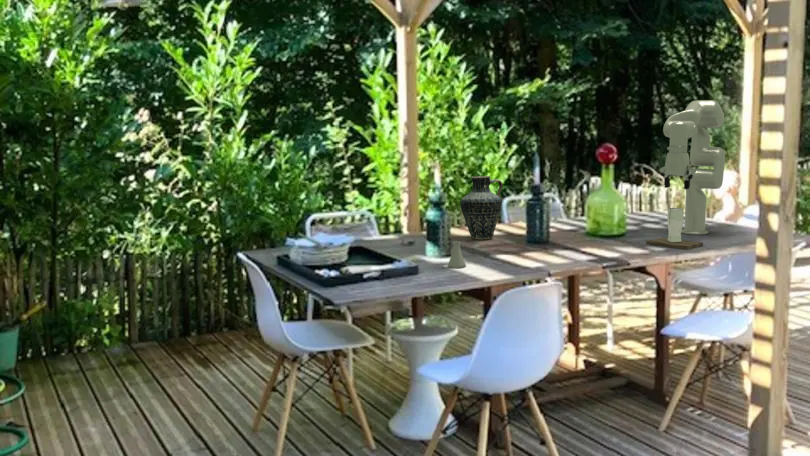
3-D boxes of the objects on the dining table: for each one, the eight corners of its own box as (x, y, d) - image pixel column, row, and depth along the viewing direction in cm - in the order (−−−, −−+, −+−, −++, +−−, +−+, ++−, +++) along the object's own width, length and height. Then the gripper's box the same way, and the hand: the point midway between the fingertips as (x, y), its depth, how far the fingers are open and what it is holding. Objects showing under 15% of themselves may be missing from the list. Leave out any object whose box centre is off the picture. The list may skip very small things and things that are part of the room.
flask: (453, 264, 331) (453, 239, 330) (469, 266, 327) (469, 241, 326) (444, 267, 325) (444, 242, 324) (460, 269, 321) (459, 244, 320)
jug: (472, 243, 381) (472, 178, 376) (453, 237, 398) (453, 175, 394) (511, 239, 389) (511, 176, 385) (490, 234, 407) (490, 173, 402)
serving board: (663, 240, 383) (663, 237, 383) (702, 245, 368) (703, 242, 368) (646, 244, 374) (646, 240, 373) (686, 249, 359) (686, 246, 359)
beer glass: (683, 243, 367) (684, 209, 365) (667, 242, 368) (668, 209, 366) (681, 240, 374) (683, 207, 371) (665, 240, 375) (666, 207, 373)
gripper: (656, 149, 368) (655, 187, 371) (691, 151, 355) (689, 190, 358) (665, 148, 373) (664, 186, 376) (700, 150, 360) (699, 189, 363)
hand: (676, 188), depth 367 cm, fingers open, 9 cm apart
